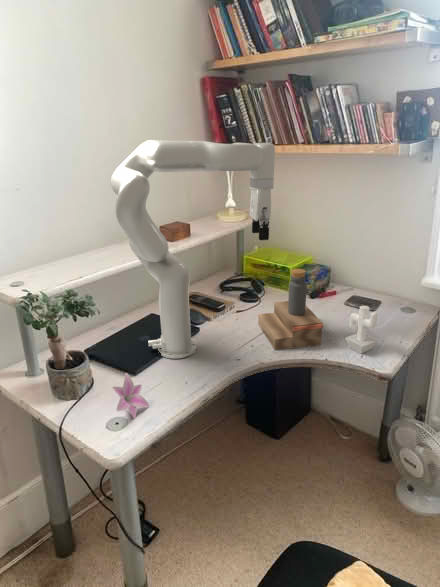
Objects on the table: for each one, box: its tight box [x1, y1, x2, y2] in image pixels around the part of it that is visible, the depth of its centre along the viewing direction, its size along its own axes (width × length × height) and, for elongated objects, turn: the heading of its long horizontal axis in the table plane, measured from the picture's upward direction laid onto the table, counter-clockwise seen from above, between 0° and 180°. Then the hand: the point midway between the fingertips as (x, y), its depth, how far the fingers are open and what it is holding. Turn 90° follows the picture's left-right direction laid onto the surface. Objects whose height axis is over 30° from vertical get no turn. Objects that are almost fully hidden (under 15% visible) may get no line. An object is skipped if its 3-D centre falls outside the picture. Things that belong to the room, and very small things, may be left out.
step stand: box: [257, 300, 324, 351], centre depth 158 cm, size 16×21×8 cm
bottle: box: [287, 268, 308, 315], centre depth 154 cm, size 6×6×15 cm
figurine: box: [344, 305, 379, 355], centre depth 145 cm, size 7×9×15 cm
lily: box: [111, 372, 150, 420], centre depth 120 cm, size 11×11×9 cm
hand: (260, 236), depth 152 cm, fingers open, 9 cm apart
